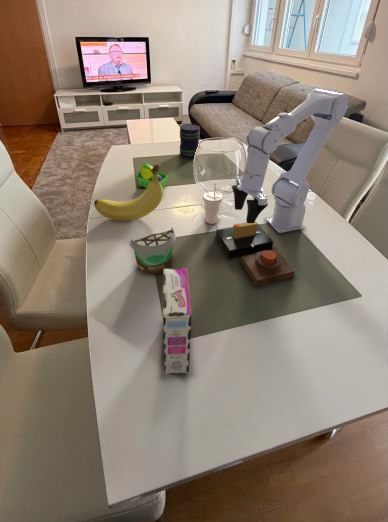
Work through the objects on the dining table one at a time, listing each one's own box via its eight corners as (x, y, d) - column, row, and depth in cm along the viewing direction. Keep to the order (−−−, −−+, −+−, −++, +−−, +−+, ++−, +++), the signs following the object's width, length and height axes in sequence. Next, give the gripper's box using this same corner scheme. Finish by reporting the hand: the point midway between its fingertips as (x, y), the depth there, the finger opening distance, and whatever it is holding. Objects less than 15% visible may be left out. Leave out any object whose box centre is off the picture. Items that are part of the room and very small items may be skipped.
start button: (270, 254, 81) (271, 249, 80) (277, 262, 78) (278, 257, 77) (258, 256, 80) (259, 251, 79) (265, 265, 77) (266, 260, 76)
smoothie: (219, 227, 98) (222, 190, 91) (200, 224, 99) (201, 187, 92) (221, 216, 103) (224, 180, 96) (203, 214, 104) (205, 178, 98)
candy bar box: (190, 374, 56) (192, 315, 48) (164, 376, 56) (161, 316, 48) (187, 322, 66) (187, 266, 58) (164, 323, 66) (162, 267, 58)
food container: (139, 284, 75) (136, 253, 71) (132, 268, 80) (129, 238, 75) (183, 268, 81) (183, 239, 76) (174, 254, 85) (173, 226, 81)
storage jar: (177, 158, 148) (177, 129, 141) (181, 151, 156) (181, 123, 149) (197, 160, 146) (198, 130, 139) (200, 152, 155) (201, 124, 148)
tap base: (254, 228, 97) (256, 220, 96) (273, 250, 88) (274, 242, 86) (215, 236, 93) (215, 228, 92) (229, 260, 84) (230, 251, 82)
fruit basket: (169, 186, 121) (168, 161, 116) (155, 195, 115) (154, 169, 110) (147, 179, 127) (146, 154, 121) (133, 187, 120) (130, 161, 115)
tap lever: (253, 231, 91) (255, 220, 89) (255, 234, 89) (257, 223, 87) (232, 235, 89) (233, 224, 87) (234, 239, 87) (235, 227, 85)
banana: (94, 223, 98) (85, 168, 89) (98, 213, 103) (90, 160, 94) (163, 223, 99) (161, 168, 89) (164, 213, 104) (162, 160, 95)
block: (275, 255, 86) (277, 244, 84) (293, 277, 79) (296, 265, 77) (240, 262, 83) (242, 251, 81) (256, 286, 75) (258, 275, 74)
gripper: (230, 162, 85) (221, 204, 91) (254, 182, 73) (243, 230, 78) (251, 162, 88) (242, 203, 93) (279, 183, 75) (266, 228, 81)
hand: (243, 215), depth 86 cm, fingers open, 7 cm apart
